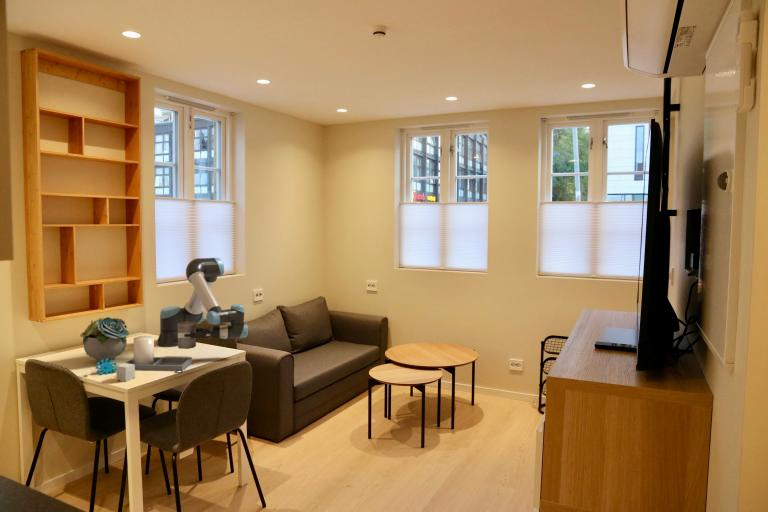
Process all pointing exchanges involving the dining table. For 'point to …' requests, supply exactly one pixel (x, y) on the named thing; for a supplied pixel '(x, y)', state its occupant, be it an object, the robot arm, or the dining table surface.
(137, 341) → the white candle
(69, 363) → the dining table surface
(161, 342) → the robot arm
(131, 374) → the skincare box
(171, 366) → the tray
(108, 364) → the gear
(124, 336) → the flower arrangement
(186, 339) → the pillar candle
